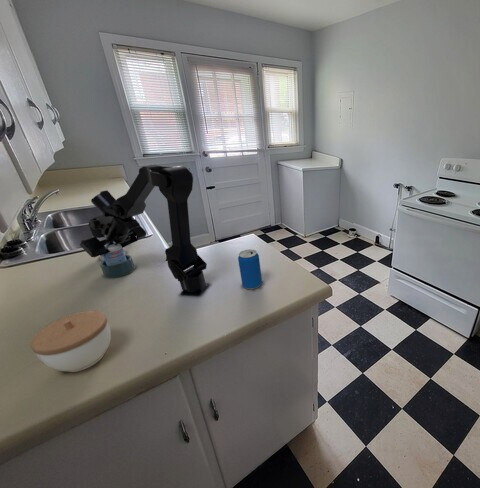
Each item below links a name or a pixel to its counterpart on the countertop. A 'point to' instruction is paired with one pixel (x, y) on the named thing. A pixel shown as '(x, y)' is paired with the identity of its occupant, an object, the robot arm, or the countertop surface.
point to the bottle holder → (118, 268)
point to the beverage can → (250, 269)
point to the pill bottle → (115, 255)
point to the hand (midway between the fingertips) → (110, 251)
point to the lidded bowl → (73, 341)
